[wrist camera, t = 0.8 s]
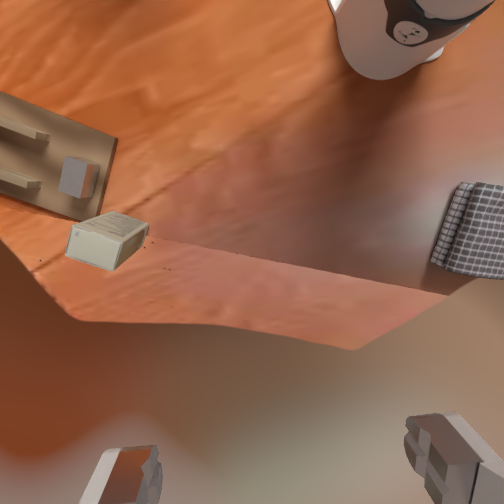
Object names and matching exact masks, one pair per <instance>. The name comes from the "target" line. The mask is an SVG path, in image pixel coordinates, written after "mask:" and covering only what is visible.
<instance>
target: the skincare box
mask: <svg viewBox="0 0 504 504" xmlns="http://www.w3.org/2000/svg"><path fill="white" fill-rule="evenodd" d="M148 228H149V224H148V223H145V222H143V221H140V220H138V219H135V218H133V217H130V216H127V215H124V214H121V213H118V212H115V211H111V212H108V213H105V214H102V215H100V216H97V217H94V218H91V219H88V220H85V221H83V222H80V223H77V224H74V225H72V228H71V231H70V235H69V239H68V243H67V247H66V252H65V256H67V257H70V258H73V259H75V260H78V261H81V262H84V263H87V264H90V265H93V266H96V267H99V268H103V269H106V270H110V271H114V270H115V269H116V268H118V267H119V266H120V265H121V264H122V263H123V262H124V261H126V260H127V259H128V258H129V257H130V256H131V255H133V254H134V253H135V252H136V251H137V250H138V249H139V248H141V247H142V245H143V242H144V240H145V237H146V234H147V231H148Z"/></svg>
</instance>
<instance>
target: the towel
mask: <svg viewBox="0 0 504 504" xmlns="http://www.w3.org/2000/svg"><path fill="white" fill-rule="evenodd" d="M430 262H432V263H435V264H437V265H438V266H442V267H444V270H447V271H451V272H454V273H457V274H463V275H470V276H472V277H479V278H489V279H501V280H502V279H504V187H503V186H499V185H497V186H495V185H489V184H485V183H479V182H476V184H471V183H464V182H461V183H460V184H459V186H458V189H457V190H456V192H455V196H454V197H453V199H452V203H451V205H450V209H449V211H448V214H447V216H446V218H445V221H444V223H443V227H442V229H441V233H440V235H439V239H438V242H437V245H436V246H435V250H434V251H433V254H432V257H431V259H430Z"/></svg>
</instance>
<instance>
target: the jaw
mask: <svg viewBox="0 0 504 504" xmlns="http://www.w3.org/2000/svg"><path fill="white" fill-rule="evenodd" d="M99 167H100V165H99V164H96V163H94V162H91V161H89V160H86V159H83V158H81V157H75V156H65V159H64V164H63V169H62V173H61V178H60V183H59V188H58V191H60V192H63V193H66V194H68V195H71V196H74V197H77V198H79V199H81V198H86V197H92V196H93V191H94V187H95V183H96V179H97V175H98V171H99Z"/></svg>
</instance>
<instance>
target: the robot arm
mask: <svg viewBox="0 0 504 504" xmlns="http://www.w3.org/2000/svg"><path fill="white" fill-rule="evenodd" d="M494 1H495V0H328V4H329V6H330V9H331V11H332V13H333V15H334V17H335V19H336V24H337V33H338V39H339V43H340V47H341V50H342V52H343V55H344V57H345V59H346V60H347V62H348V63H349V64H350V66H351V67H352V68H353V69H354V70H355V71H356V72H358V73H359V74H361V75H363V76H365V77H367V78H370V79H374V80H387V79H392V78H395V77H398V76H400V75H402V74H404V73H405V72H407V71H408V70H410V69H411V68H413V67H414V66H416V65H418V64H420V63H424V62H429V61H432V60H435V59H436V58H438V57H439V56H440V55H441V54H442V52H443V49H444V46H445V45H446V44H448V43H449V42H450V41H452V40H453V39H454V38H456V37H457V36H458V35H459V34H461V33H462V32H463V31H465V30H466V29H467V27H468V26H469V25H470V23H471V22H472V21H473V20H475V18H477V17H478V16H479V15H480V14H482V13H483V12H484V11H485V10H486V9H487V8H489V6H490V5H491V4H492V3H493V2H494ZM406 427H407V429H408V430H409V432H408V433H407V434H406V435H405V437H404V447H405V452H406V455H407V457H408V460H409V462H410V464H411V465H412V467H413V469H414V471H415V472H416V473H418V474H419V475H421V476H422V477H423V478H424V479H425V484H424V486H425V488H426V490H427V492H428V494H429V495H430V496H431V499H432V500H433V502H434V503H435V504H504V460H502V459H501V458H500V457H499V456H498V455H497V454H496V453H495V452H494V451H493V450H492V449H491V448H490V446H489V445H488V444H487V443H486V442H485V441H484V440H483V439H482V438H481V437H480V436H479V435H478V434H477V433H476V432H475V431H474V430H473V429H472V428H471V426H470V425H468V423H467V422H466V421H465V420H464V419H463V418H462V417H461V416H460V415H459V414H458V413H456V412H445V413H438V414H437V413H433V414H425V415H418V416H409V417H408V418H407V419H406ZM158 454H159V452H158V448H157V445H148V446H136V447H123V448H113V449H107V450H106V451H105V452H104V453H103V454H102V456H101V459H100V460H99V462H98V464H97V466H96V468H95V471H94V473H93V475H92V477H91V479H90V481H89V483H88V485H87V487H86V489H85V491H84V494H83V496H82V498H81V500H80V502H79V504H157V503H158V502H159V499H160V494H161V489H162V479H163V478H162V466H161V463H159V462H158V461H157V458H158Z"/></svg>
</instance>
